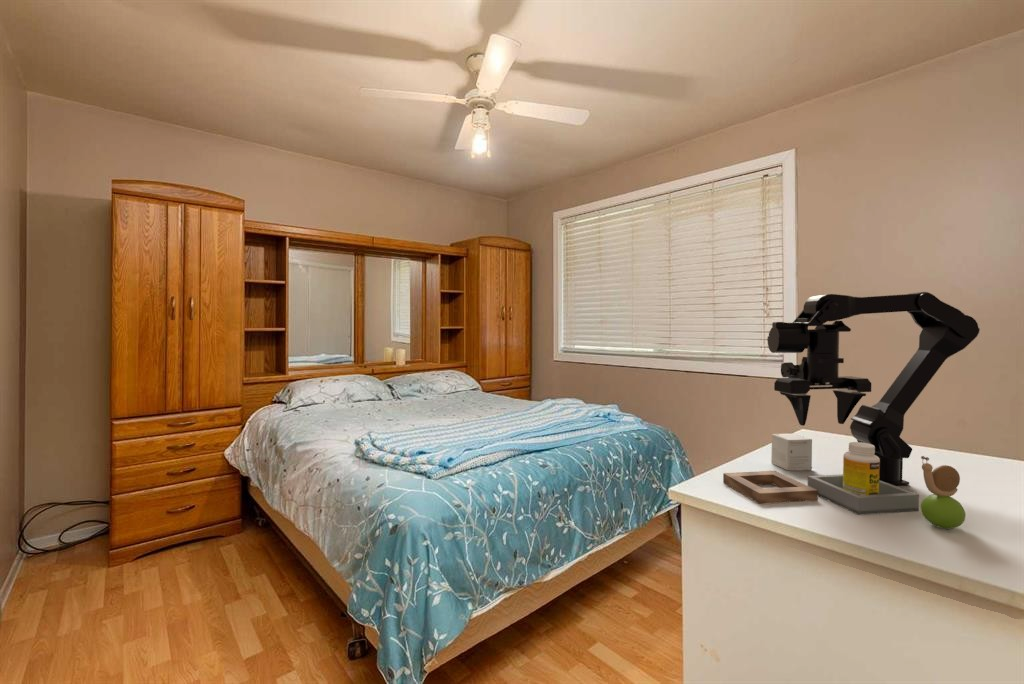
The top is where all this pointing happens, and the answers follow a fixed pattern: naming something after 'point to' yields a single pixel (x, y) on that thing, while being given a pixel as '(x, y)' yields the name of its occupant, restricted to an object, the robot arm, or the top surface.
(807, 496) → the wooden rectangular frame
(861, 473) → the supplement bottle
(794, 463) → the product box
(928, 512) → the snail figurine
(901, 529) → the top surface
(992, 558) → the top surface
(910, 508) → the parts tray
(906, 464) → the top surface
